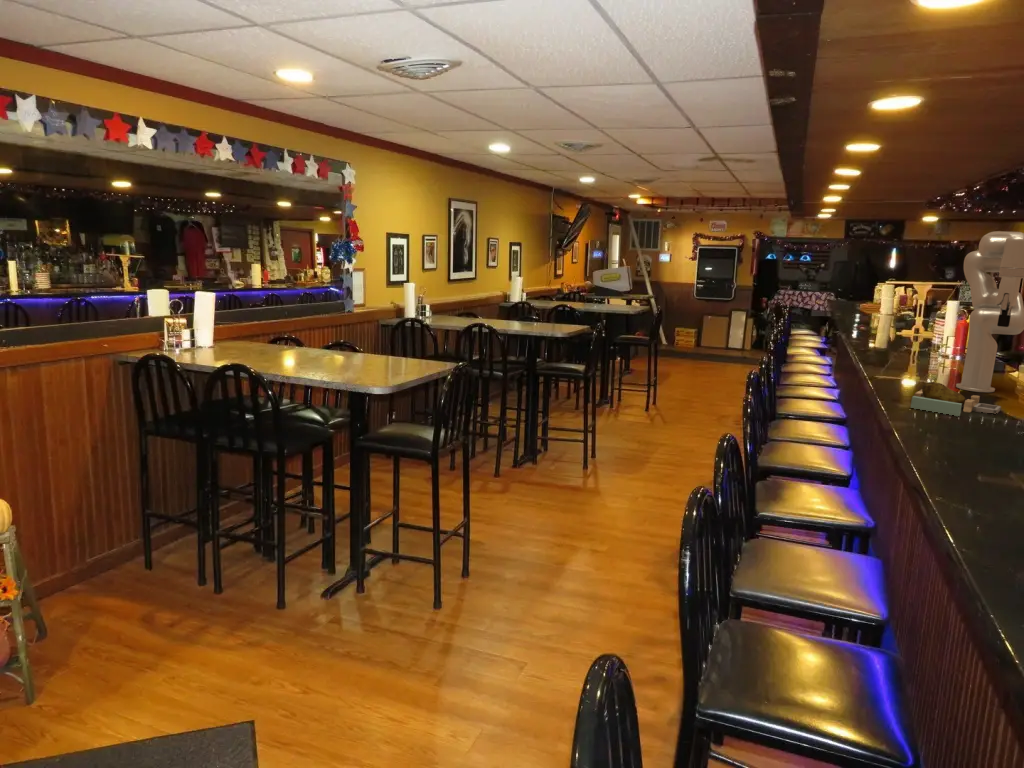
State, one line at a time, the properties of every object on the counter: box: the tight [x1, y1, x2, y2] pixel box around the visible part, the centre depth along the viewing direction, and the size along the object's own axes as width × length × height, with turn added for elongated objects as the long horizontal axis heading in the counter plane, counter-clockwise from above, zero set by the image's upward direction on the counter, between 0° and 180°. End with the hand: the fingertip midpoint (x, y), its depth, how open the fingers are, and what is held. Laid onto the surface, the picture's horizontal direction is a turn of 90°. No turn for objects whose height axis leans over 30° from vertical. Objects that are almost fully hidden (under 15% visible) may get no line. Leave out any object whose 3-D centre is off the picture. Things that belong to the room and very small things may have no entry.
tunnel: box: [913, 389, 981, 413], centre depth 240 cm, size 14×17×4 cm
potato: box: [921, 381, 967, 407], centre depth 237 cm, size 8×13×8 cm, turn 49°
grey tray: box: [972, 402, 1002, 415], centre depth 233 cm, size 9×6×2 cm
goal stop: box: [910, 395, 963, 417], centre depth 228 cm, size 2×14×4 cm, turn 48°
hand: (1002, 326), depth 242 cm, fingers closed
